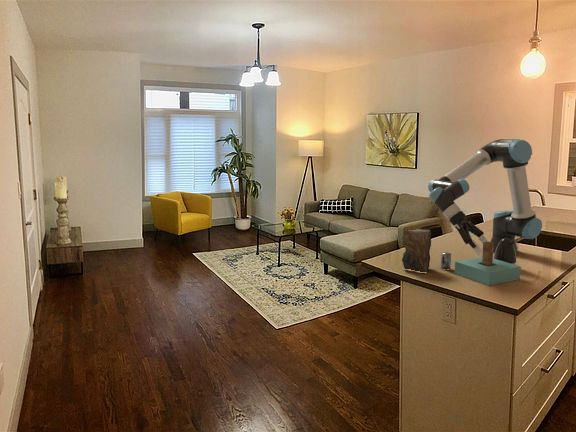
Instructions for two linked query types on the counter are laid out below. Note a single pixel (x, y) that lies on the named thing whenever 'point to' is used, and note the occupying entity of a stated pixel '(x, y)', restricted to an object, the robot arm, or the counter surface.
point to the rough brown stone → (417, 250)
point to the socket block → (487, 271)
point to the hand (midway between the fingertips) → (485, 250)
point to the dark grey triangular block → (505, 251)
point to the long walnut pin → (487, 253)
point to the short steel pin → (446, 260)
